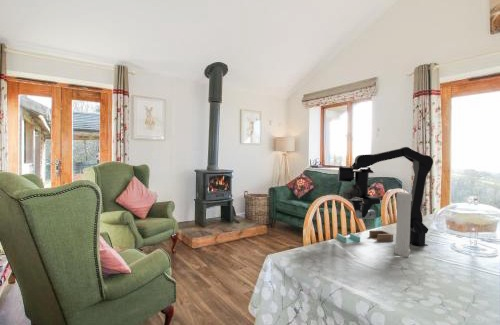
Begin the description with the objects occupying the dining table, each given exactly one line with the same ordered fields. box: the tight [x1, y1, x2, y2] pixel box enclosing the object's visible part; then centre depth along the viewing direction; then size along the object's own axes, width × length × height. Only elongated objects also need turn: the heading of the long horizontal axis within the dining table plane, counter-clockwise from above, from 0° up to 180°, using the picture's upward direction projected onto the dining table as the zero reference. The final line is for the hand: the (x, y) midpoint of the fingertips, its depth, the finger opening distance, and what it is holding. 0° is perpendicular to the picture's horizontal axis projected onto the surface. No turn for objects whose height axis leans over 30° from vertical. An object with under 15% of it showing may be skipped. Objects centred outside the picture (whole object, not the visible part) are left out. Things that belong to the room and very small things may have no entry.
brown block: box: [368, 229, 394, 243], centre depth 132 cm, size 7×7×4 cm
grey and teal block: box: [354, 209, 377, 220], centre depth 131 cm, size 8×4×4 cm, turn 106°
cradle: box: [336, 232, 361, 243], centre depth 130 cm, size 7×8×2 cm
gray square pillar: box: [394, 178, 412, 258], centre depth 113 cm, size 6×6×30 cm
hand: (360, 216), depth 130 cm, fingers closed on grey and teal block, 4 cm apart
